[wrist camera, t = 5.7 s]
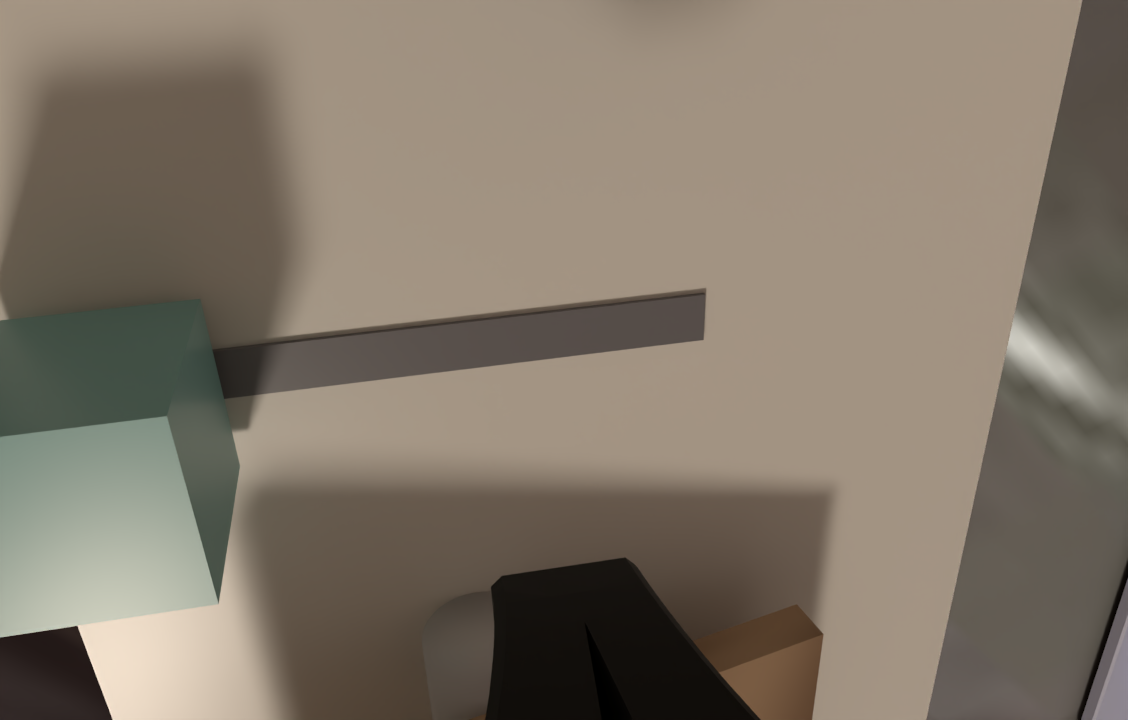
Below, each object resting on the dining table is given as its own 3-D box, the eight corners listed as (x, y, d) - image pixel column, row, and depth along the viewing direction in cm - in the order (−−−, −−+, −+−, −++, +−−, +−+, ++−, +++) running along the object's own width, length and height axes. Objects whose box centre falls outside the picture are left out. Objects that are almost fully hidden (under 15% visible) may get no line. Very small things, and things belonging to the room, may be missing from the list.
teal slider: (200, 298, 14) (166, 416, 11) (239, 465, 15) (219, 603, 12) (-19, 322, 13) (-107, 449, 11) (42, 491, 15) (-22, 640, 12)
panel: (1124, -483, 13) (1339, -560, 10) (871, 825, 26) (935, 948, 23) (-283, -487, 10) (-510, -589, 8) (227, 955, 23) (211, 1110, 20)
